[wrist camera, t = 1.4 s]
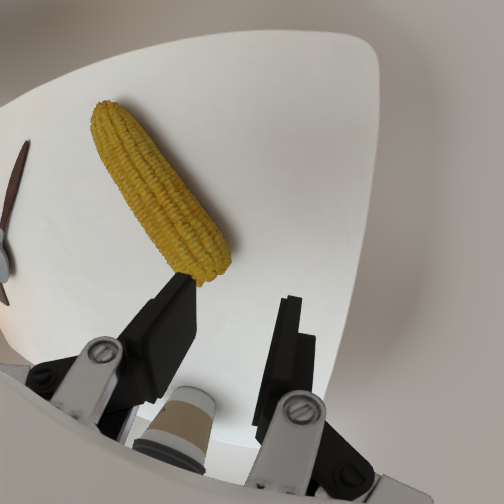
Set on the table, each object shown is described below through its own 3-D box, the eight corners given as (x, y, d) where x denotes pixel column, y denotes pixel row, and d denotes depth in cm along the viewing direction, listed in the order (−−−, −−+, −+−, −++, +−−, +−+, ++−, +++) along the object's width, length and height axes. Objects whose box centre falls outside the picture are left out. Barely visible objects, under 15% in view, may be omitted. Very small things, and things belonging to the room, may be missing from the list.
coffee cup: (165, 367, 41) (122, 443, 28) (234, 394, 40) (205, 478, 27) (163, 401, 46) (130, 465, 33) (221, 424, 45) (197, 492, 32)
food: (246, 247, 29) (230, 277, 24) (206, 272, 31) (185, 303, 26) (126, 89, 24) (88, 88, 19) (96, 125, 26) (59, 131, 21)
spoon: (-13, 250, 42) (-22, 257, 39) (19, 120, 29) (5, 123, 26) (14, 284, 44) (5, 292, 42) (54, 160, 31) (40, 165, 29)
